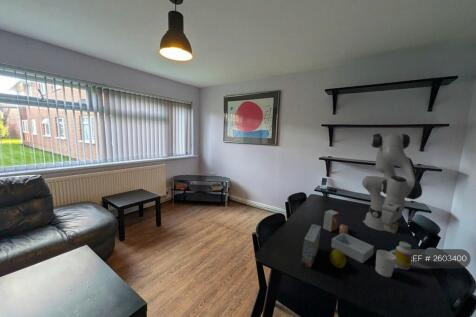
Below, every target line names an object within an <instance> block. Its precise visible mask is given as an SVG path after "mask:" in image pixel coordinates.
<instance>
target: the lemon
mask: <svg viewBox="0 0 476 317" xmlns="http://www.w3.org/2000/svg"><path fill="white" fill-rule="evenodd" d="M329 261H330V263H331V264H332V265H333V266H334V267H335V268H338V269H342V268H344V267H345V265H346V263H347V257H346V255H345V254H343V252H341V251H340V250H336V249H333V250H331V251H330V253H329Z"/></svg>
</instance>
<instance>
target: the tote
mask: <svg viewBox="0 0 476 317" xmlns="http://www.w3.org/2000/svg"><path fill="white" fill-rule="evenodd" d="M330 248H331V249H333V250H335V249H336V250H340V251H341V252H343V254H344V255H345V256H347V257H349V258H351V259H353V260H355V261H357V262H358V263H360V264H363V263H365V262H366V261H367V260H369V259H370V258H371V257H373V255H374V248H375V245H373V244H370V243H368V242H366V241H363V240H360V239H358V238H356V237H354V236H351V235H350V234H348V233H347V234H345V233H342V234H340V235H339V234H338V235H336V236H334V237H333V238H331V244H330Z"/></svg>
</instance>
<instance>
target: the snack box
mask: <svg viewBox="0 0 476 317" xmlns="http://www.w3.org/2000/svg"><path fill="white" fill-rule="evenodd" d="M321 230H322V226H321V225H317V224H314V223H313V224H311V226H310V228H309V230H308V232H307V234H306V235H305V237H304V240H303V246H302V247H303V248H302V256H301V266H304V267H306V268H308V269H311V268H312V267H313V264H314V261H315V258H316V256H317V253H318V251H319V245H320V237H321V236H320V235H321Z"/></svg>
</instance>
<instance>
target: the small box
mask: <svg viewBox="0 0 476 317" xmlns="http://www.w3.org/2000/svg"><path fill="white" fill-rule="evenodd" d="M338 223H339V212H337V211H336V210H332V209H329V210H327V211H324V217H323V227H322V229H323V230H326V231H328V232H330V233H331V232H334V231H336V230H337V229H338Z"/></svg>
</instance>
